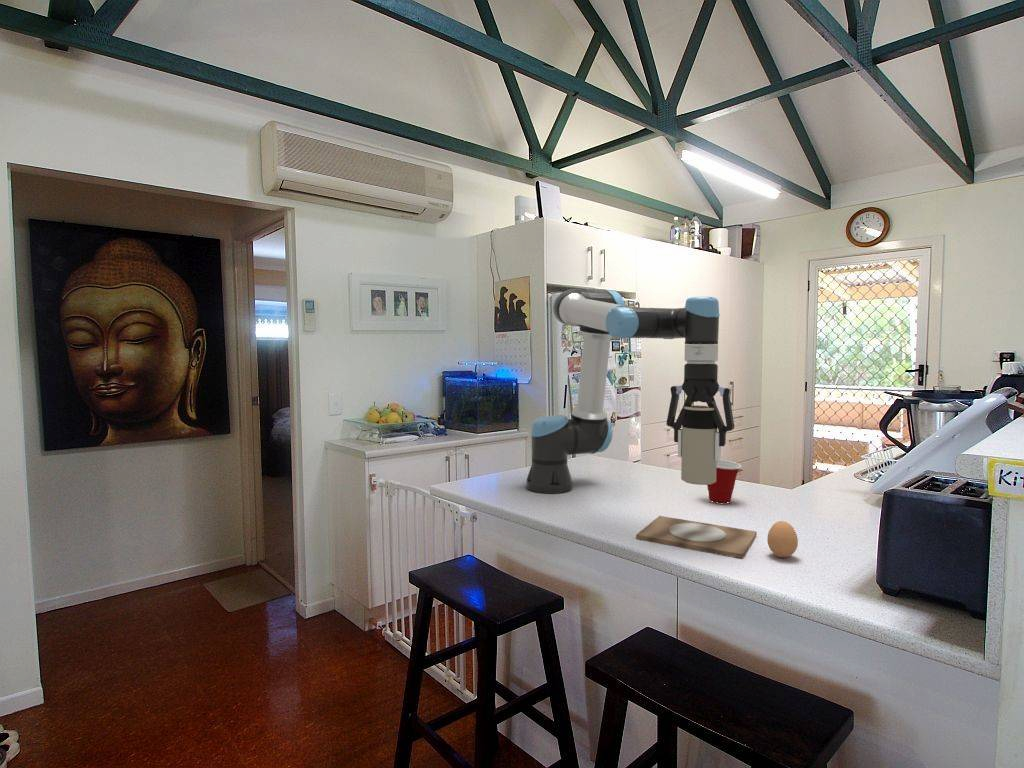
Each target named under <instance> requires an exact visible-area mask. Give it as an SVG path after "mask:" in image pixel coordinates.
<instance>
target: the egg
mask: <svg viewBox="0 0 1024 768" xmlns="http://www.w3.org/2000/svg"><path fill="white" fill-rule="evenodd" d="M798 541H799V539H798V535H797V533H796V530H795V529H794V527H793V526H792V524H790V523H789V522H787V521H785V520H779V521H777V522H774V523H773V524H772V525H771V527H770V528H769V530H768V533H767V544H768V547H769V550H770V551H771V552H772V553H773V554H774V555H776V556H777V557H779V558H785V559H786V558H788V557H790V556H792V555H793V554H794V553H795V552H796V551H797V548H798V545H799V544H798V543H799V542H798Z"/></svg>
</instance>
